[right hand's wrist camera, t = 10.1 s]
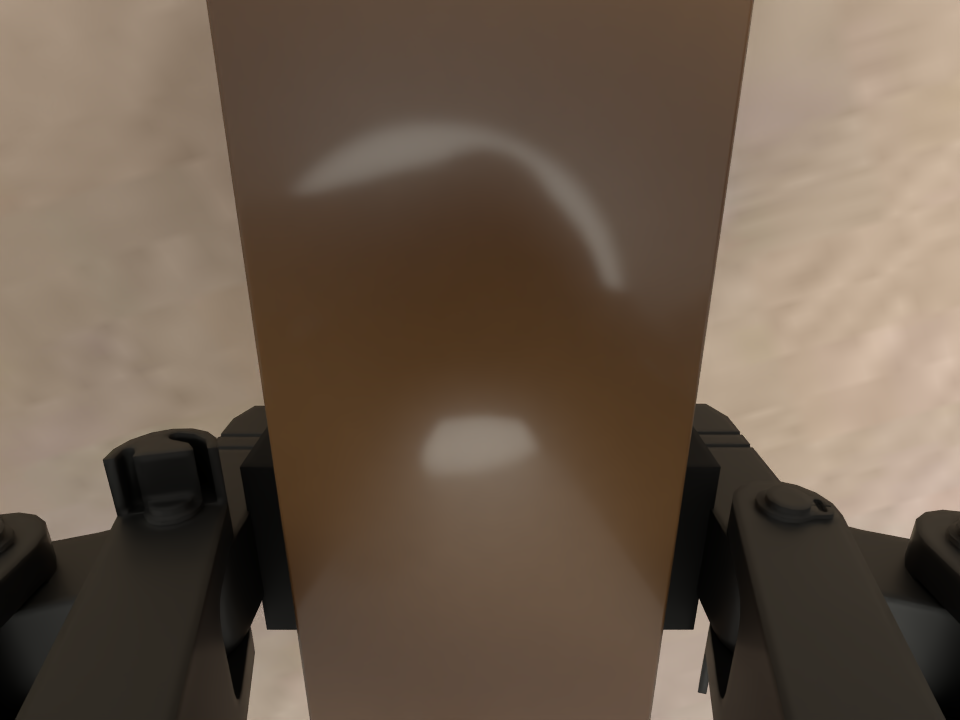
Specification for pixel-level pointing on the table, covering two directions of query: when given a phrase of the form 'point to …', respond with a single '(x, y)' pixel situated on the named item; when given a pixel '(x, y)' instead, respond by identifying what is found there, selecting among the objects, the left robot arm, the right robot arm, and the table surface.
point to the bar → (480, 331)
